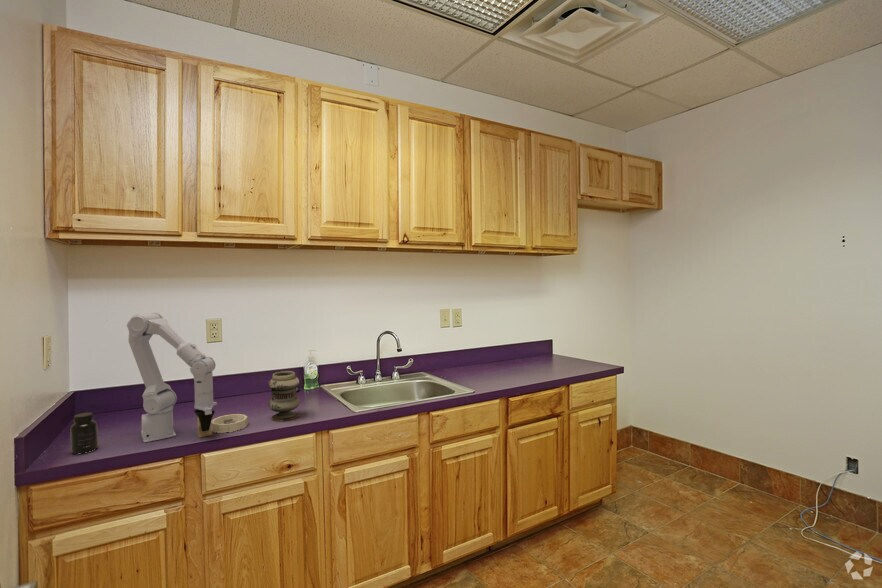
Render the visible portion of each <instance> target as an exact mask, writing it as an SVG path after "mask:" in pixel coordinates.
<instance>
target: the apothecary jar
mask: <svg viewBox="0 0 882 588" xmlns="http://www.w3.org/2000/svg"><path fill="white" fill-rule="evenodd" d="M267 384H268V388H269V389H270V390H271V399H270V400H269V402H268V408H269V409H270V410H271V411H273V412H277V413H276V414H273V415H272V416H271V418H270V419H271V420H272V421H274V420H275V421H277V422H285V421H292V420H294V419H296V418H297V417H298V414H297V413H296V412H293V411H294V410H295V409H297V408H298V407H299V406H300V405H301V399H300V398H299V397H298V396H297V395H298V394H297V386H299V385H300V380H299V378H298V377H297V376H296V373H295V371H291V370H281V371H276V372H274V373H272V377H271V379H270V380H269V381H268V383H267Z"/></svg>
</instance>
